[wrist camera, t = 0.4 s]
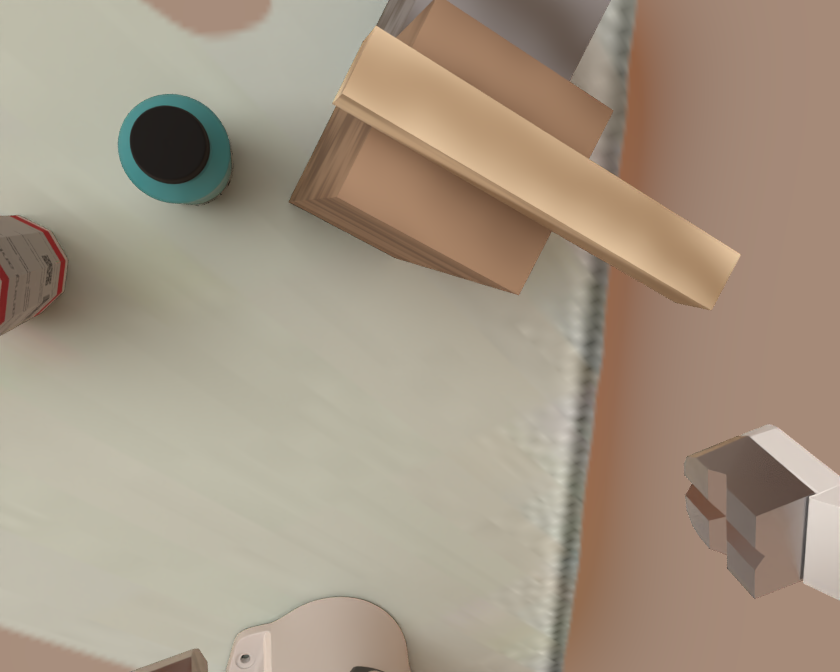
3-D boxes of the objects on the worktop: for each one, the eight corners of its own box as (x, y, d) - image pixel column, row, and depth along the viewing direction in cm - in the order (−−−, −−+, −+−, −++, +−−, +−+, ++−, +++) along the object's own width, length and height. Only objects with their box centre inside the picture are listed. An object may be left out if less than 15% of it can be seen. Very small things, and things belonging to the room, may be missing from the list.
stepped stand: (395, 257, 63) (518, 295, 36) (288, 201, 60) (337, 197, 33) (502, 45, 62) (710, -78, 35) (400, -23, 59) (541, -213, 32)
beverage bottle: (240, 200, 59) (246, 196, 40) (154, 212, 57) (117, 215, 38) (224, 116, 57) (222, 70, 38) (135, 126, 56) (87, 85, 37)
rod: (675, 302, 38) (711, 310, 35) (332, 103, 32) (342, 93, 29) (702, 251, 38) (740, 254, 35) (363, 41, 32) (376, 25, 29)
